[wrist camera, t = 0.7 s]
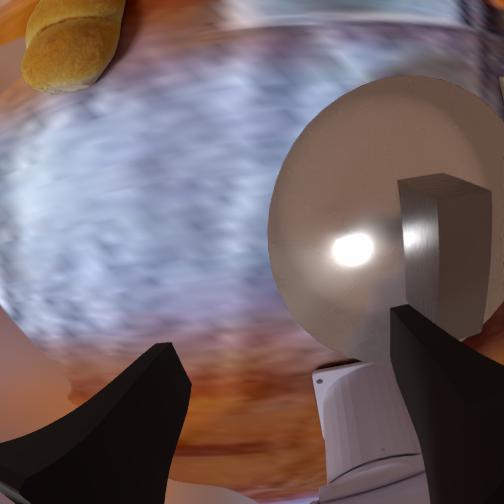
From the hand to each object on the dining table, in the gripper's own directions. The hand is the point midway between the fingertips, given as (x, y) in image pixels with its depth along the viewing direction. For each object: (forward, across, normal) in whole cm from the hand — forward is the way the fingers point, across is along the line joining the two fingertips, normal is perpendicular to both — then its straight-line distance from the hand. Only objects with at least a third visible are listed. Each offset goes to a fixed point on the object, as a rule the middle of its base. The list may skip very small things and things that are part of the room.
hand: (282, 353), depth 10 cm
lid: (+6, -7, 0) cm, 9 cm away
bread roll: (+11, +10, -17) cm, 23 cm away
